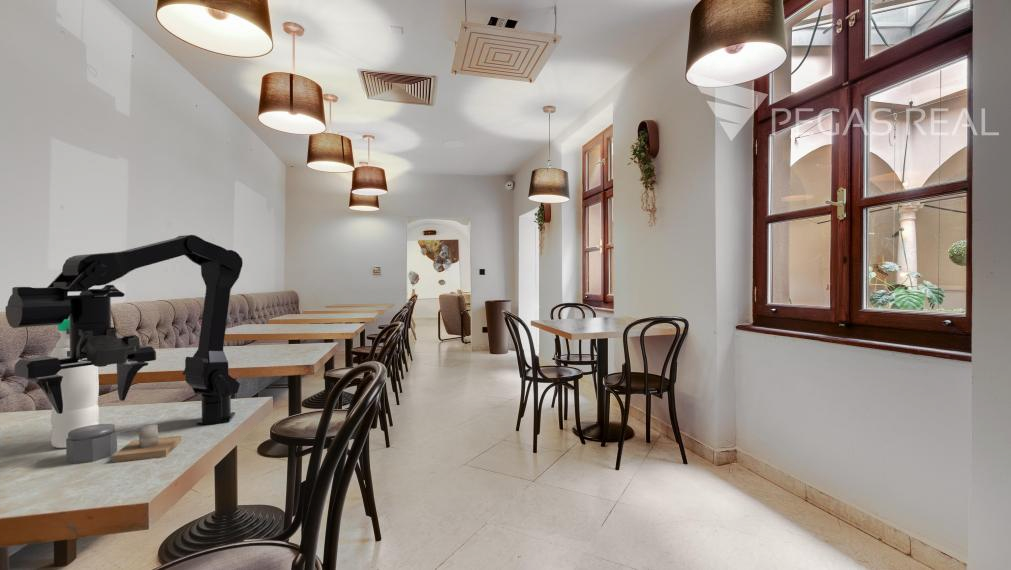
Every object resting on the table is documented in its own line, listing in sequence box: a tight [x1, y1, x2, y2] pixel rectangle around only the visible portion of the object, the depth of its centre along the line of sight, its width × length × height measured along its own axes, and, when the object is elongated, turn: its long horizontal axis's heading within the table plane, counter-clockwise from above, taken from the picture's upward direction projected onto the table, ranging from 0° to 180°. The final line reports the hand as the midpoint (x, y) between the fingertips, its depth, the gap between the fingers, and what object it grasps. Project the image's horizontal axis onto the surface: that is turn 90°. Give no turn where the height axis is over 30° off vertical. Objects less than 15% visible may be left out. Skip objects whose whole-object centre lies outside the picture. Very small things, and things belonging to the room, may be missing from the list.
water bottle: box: [49, 317, 100, 449], centre depth 91 cm, size 7×7×25 cm
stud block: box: [112, 424, 182, 463], centre depth 86 cm, size 8×8×5 cm
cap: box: [65, 423, 118, 465], centre depth 84 cm, size 6×6×5 cm
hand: (92, 406), depth 84 cm, fingers open, 9 cm apart
